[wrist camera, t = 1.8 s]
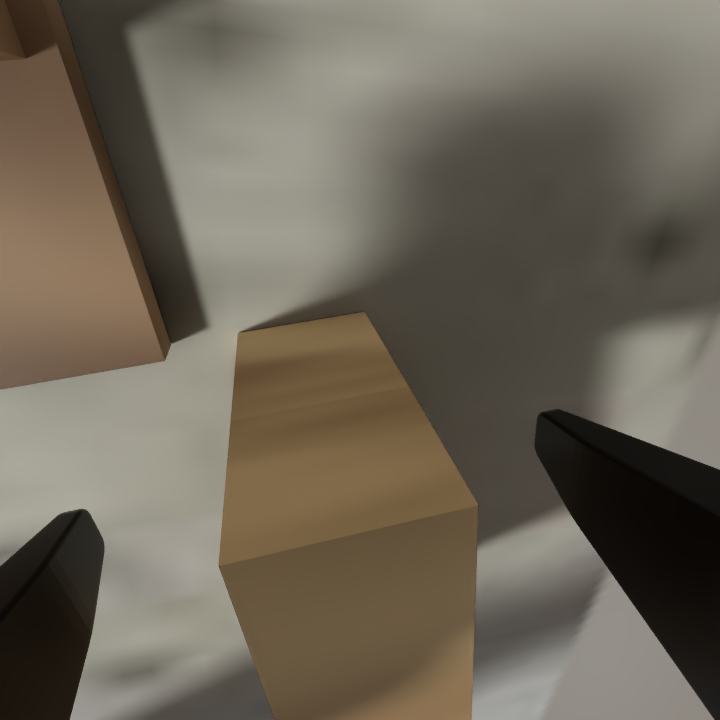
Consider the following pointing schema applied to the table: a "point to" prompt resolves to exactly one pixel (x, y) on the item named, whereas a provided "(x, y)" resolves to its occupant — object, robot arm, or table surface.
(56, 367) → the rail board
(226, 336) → the table surface
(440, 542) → the tan notched block
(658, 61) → the table surface
